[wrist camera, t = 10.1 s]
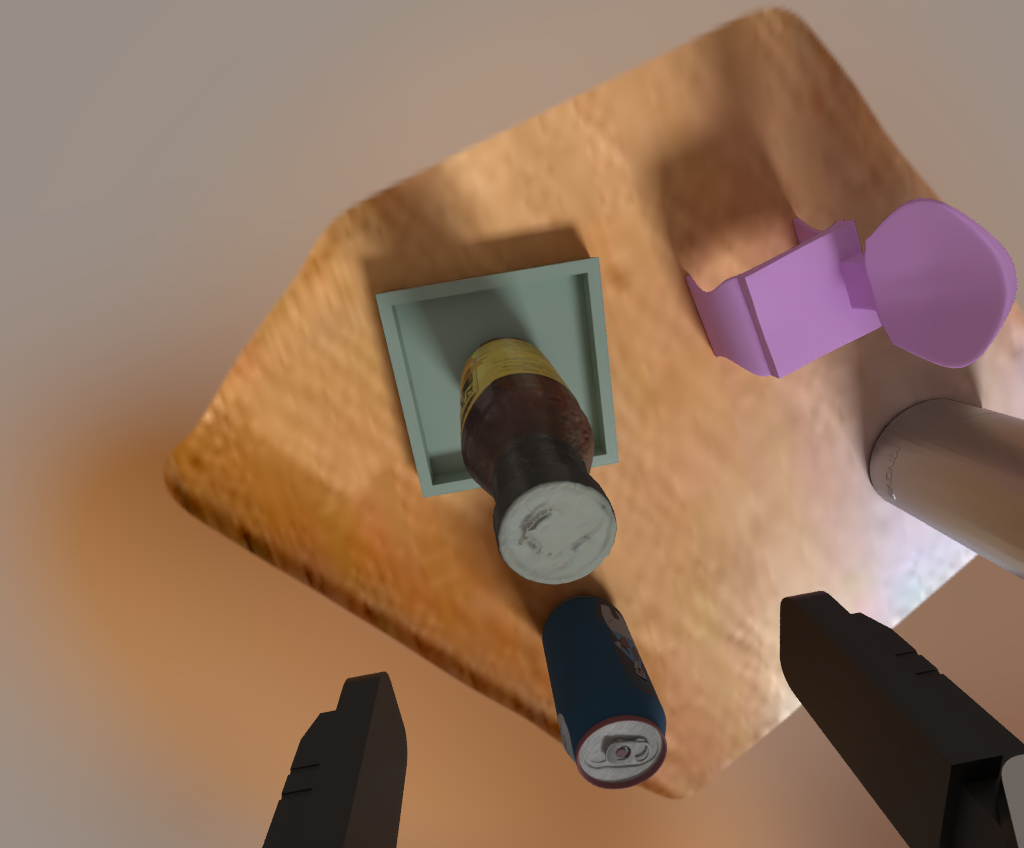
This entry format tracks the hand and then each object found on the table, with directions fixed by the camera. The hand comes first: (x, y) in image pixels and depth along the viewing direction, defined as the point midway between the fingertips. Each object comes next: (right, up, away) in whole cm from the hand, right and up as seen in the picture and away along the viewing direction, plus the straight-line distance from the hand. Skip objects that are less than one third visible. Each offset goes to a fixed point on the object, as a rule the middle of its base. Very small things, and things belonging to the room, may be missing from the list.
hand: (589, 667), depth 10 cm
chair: (+15, +14, +25) cm, 33 cm away
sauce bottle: (-2, +8, +25) cm, 26 cm away
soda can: (+4, -12, +32) cm, 35 cm away
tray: (-2, +8, +25) cm, 27 cm away
